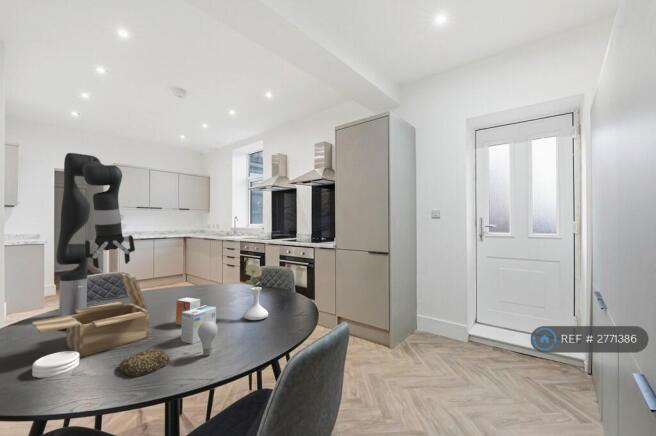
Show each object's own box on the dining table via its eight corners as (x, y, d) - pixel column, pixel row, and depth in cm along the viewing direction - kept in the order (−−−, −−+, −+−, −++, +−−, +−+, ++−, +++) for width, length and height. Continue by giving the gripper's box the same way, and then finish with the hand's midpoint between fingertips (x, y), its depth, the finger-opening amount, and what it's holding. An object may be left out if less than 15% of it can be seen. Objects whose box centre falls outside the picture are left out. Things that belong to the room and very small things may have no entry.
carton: (27, 349, 96) (28, 317, 96) (126, 325, 119) (127, 300, 120) (42, 374, 81) (44, 336, 81) (154, 341, 104) (155, 312, 104)
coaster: (23, 381, 77) (24, 368, 77) (42, 365, 86) (43, 353, 86) (71, 374, 81) (71, 362, 81) (84, 359, 90) (84, 348, 90)
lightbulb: (204, 361, 90) (205, 325, 90) (193, 356, 93) (194, 322, 93) (221, 353, 95) (221, 320, 95) (209, 349, 98) (210, 317, 98)
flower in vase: (273, 317, 133) (274, 263, 134) (255, 324, 124) (256, 266, 124) (253, 312, 140) (254, 261, 141) (235, 318, 131) (236, 263, 131)
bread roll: (127, 382, 78) (128, 363, 78) (115, 367, 86) (115, 350, 86) (177, 365, 87) (177, 349, 88) (161, 353, 95) (162, 338, 96)
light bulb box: (204, 331, 114) (204, 304, 115) (216, 334, 111) (217, 306, 112) (180, 341, 105) (181, 311, 105) (192, 344, 102) (193, 314, 102)
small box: (175, 324, 122) (176, 299, 122) (186, 320, 127) (186, 296, 127) (189, 327, 119) (189, 302, 119) (199, 323, 124) (200, 298, 124)
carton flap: (131, 302, 115) (119, 273, 112) (133, 301, 116) (121, 272, 113) (145, 309, 107) (133, 278, 104) (147, 307, 108) (135, 277, 104)
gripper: (130, 218, 109) (134, 259, 112) (81, 222, 100) (86, 266, 102) (133, 221, 104) (137, 264, 106) (82, 225, 94) (87, 272, 97)
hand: (112, 265), depth 104 cm, fingers open, 8 cm apart
